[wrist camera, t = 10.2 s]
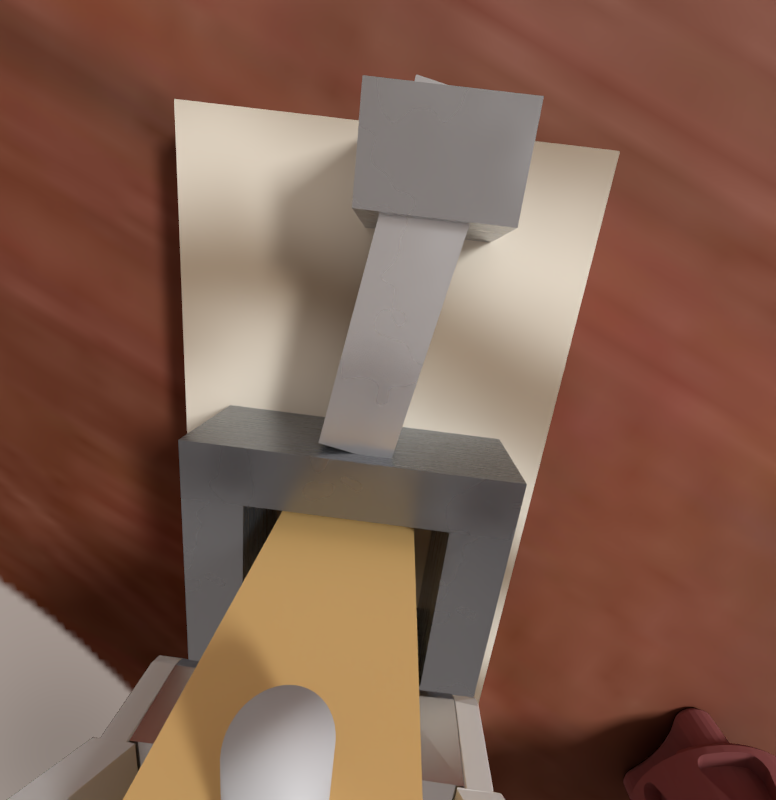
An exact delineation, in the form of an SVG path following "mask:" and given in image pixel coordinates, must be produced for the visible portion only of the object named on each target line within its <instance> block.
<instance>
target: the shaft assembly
mask: <svg viewBox="0 0 776 800" xmlns="http://www.w3.org/2000/svg"><path fill="white" fill-rule="evenodd" d="M543 98H544V96H537V95H529V94H520V93H511V92H503V91H494V90H485V89H477V88H468V87H459V86H451V85H446V84H443V83H440V82H437V81H434V80H431V79H428V78H425V77H422V76H419V75H416V77H415V81H407V80H399V79H390V78H381V77H373V76H364V75H363V77H362V89H361V102H360V114H359V126H358V139H357V151H356V163H355V176H354V188H353V200H352V209H353V210H354V212H355V213H356V215H357V216H358V218H359V219H360V221H361V222H362V223H363V225H364V226H365V228H372V229H375V232H374V236H373V239H372V243H371V247H370V251H369V254H368V258H367V262H366V266H365V269H364V273H363V277H362V281H361V284H360V288H359V292H358V296H357V300H356V303H355V307H354V311H353V315H352V318H351V322H350V326H349V330H348V333H347V337H346V341H345V345H344V348H343V352H342V356H341V360H340V364H339V367H338V371H337V375H336V379H335V382H334V386H333V390H332V394H331V397H330V401H329V405H328V409H327V412H326V416H325V417H320V416H312V415H305V414H297V413H289V412H281V411H273V410H265V409H257V408H249V407H241V406H233V405H230V406H228V407H227V408H225V409H224V410H222V411H221V412H219V413H218V414H216V415H215V416H213V417H212V418H210V419H209V420H207V421H206V422H204V423H203V424H201V425H200V426H198V427H197V428H195V429H194V430H192V431H191V432H189V433H188V434H186V435H185V436H183V437H182V438H180V439H179V440H178V444H179V466H180V487H181V509H182V530H183V552H184V573H185V595H186V616H187V638H188V659H189V660H195V661H200V659H201V657H202V655H203V654H204V652H205V650H206V648H207V646H208V645H209V643H210V641H211V639H212V637H213V636H214V634H215V632H216V630H217V628H218V626H219V625H220V623H221V621H222V619H223V617H224V616H225V614H226V612H227V610H228V608H229V607H230V605H231V603H232V601H233V599H234V598H235V596H236V594H237V592H238V590H239V589H240V587H241V585H242V583H243V581H244V580H245V578H246V576H247V574H248V572H249V570H250V569H251V567H252V565H253V563H254V561H255V560H256V558H257V556H258V554H259V552H260V551H261V549H262V547H263V545H264V543H265V542H266V540H267V538H268V536H269V534H270V533H271V531H272V529H273V527H274V525H275V524H276V522H277V510H280V511H288V512H296V513H303V514H311V515H319V516H326V517H334V518H342V519H349V520H357V521H365V522H373V523H380V524H388V525H396V526H403V527H411V528H419V529H426V530H431V534H430V540H429V545H428V551H427V557H426V563H425V568H424V574H423V580H422V585H421V591H420V597H419V603H418V608H416V610H417V641H418V672H419V690H423V691H432V692H441V693H449V694H452V695H458V696H467V697H474V694H475V690H476V686H477V682H478V678H479V674H480V670H481V666H482V662H483V658H484V654H485V650H486V646H487V642H488V638H489V634H490V630H491V626H492V622H493V618H494V614H495V610H496V606H497V602H498V598H499V594H500V590H501V586H502V582H503V578H504V574H505V570H506V566H507V562H508V558H509V554H510V550H511V546H512V542H513V538H514V534H515V530H516V526H517V522H518V518H519V514H520V510H521V506H522V502H523V498H524V494H525V490H526V486H527V484H526V482H525V480H524V479H523V477H522V475H521V474H520V472H519V470H518V469H517V467H516V466H515V464H514V462H513V461H512V459H511V457H510V456H509V454H508V452H507V451H506V449H505V448H504V446H503V444H502V443H501V441H500V439H494V438H486V437H478V436H470V435H462V434H455V433H447V432H439V431H431V430H423V429H415V428H407V427H402V426H403V423H404V420H405V417H406V414H407V411H408V408H409V405H410V402H411V399H412V396H413V393H414V390H415V387H416V384H417V381H418V378H419V375H420V372H421V369H422V366H423V363H424V360H425V357H426V354H427V351H428V348H429V345H430V342H431V339H432V336H433V333H434V330H435V327H436V324H437V321H438V318H439V315H440V312H441V309H442V306H443V303H444V300H445V297H446V294H447V291H448V288H449V285H450V282H451V279H452V276H453V273H454V270H455V267H456V264H457V261H458V258H459V255H460V252H461V249H462V246H463V243H464V240H472V241H480V242H489V243H491V242H492V241H494V240H496V239H498V238H500V237H502V236H504V235H505V234H507V233H509V232H511V231H513V230H515V229H517V228H518V224H519V219H520V214H521V209H522V203H523V198H524V193H525V188H526V183H527V178H528V173H529V168H530V163H531V158H532V153H533V148H534V143H535V138H536V133H537V128H538V123H539V118H540V113H541V108H542V103H543Z"/></svg>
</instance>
